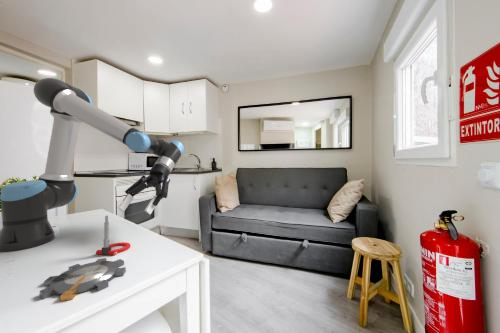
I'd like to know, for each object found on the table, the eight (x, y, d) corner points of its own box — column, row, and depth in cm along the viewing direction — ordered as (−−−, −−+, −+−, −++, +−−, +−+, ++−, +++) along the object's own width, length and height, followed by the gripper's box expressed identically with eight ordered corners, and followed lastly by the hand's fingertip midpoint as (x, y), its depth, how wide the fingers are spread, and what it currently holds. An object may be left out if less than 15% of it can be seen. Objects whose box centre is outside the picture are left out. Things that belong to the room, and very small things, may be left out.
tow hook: (115, 244, 78) (93, 255, 68) (115, 210, 78) (93, 215, 69) (135, 246, 76) (115, 256, 67) (135, 211, 76) (116, 216, 67)
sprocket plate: (29, 285, 52) (29, 280, 52) (107, 256, 67) (107, 253, 67) (55, 311, 43) (55, 305, 43) (138, 271, 58) (138, 267, 58)
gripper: (189, 174, 89) (165, 218, 76) (146, 174, 98) (117, 213, 85) (181, 162, 84) (153, 208, 71) (135, 163, 93) (103, 203, 80)
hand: (133, 211), depth 78 cm, fingers open, 13 cm apart
